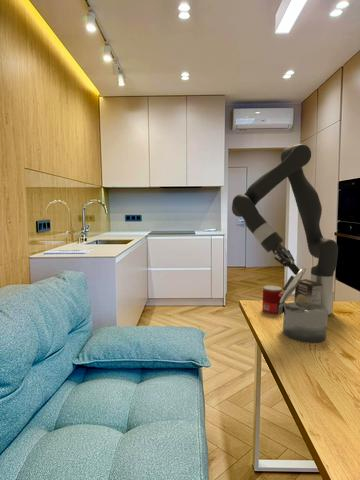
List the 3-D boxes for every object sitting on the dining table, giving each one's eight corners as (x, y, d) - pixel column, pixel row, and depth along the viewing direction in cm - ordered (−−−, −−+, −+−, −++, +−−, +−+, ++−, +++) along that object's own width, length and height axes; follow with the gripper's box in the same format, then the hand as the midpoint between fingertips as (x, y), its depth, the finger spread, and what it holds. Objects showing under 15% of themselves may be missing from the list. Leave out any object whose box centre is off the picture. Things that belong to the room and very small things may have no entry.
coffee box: (292, 316, 140) (294, 280, 138) (303, 314, 143) (305, 278, 141) (309, 324, 132) (311, 285, 130) (320, 321, 135) (323, 283, 133)
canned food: (281, 315, 142) (282, 290, 141) (262, 313, 143) (263, 289, 142) (279, 309, 149) (280, 286, 148) (261, 308, 151) (262, 284, 150)
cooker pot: (273, 335, 120) (274, 309, 119) (284, 323, 132) (285, 299, 131) (322, 346, 111) (324, 318, 110) (329, 332, 123) (330, 306, 122)
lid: (277, 309, 118) (270, 304, 119) (289, 298, 131) (282, 294, 132) (300, 272, 112) (292, 268, 113) (309, 265, 125) (303, 261, 127)
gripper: (269, 232, 118) (302, 270, 113) (280, 229, 129) (310, 264, 124) (254, 245, 122) (285, 282, 117) (266, 241, 133) (294, 275, 128)
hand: (298, 273), depth 120 cm, fingers closed
